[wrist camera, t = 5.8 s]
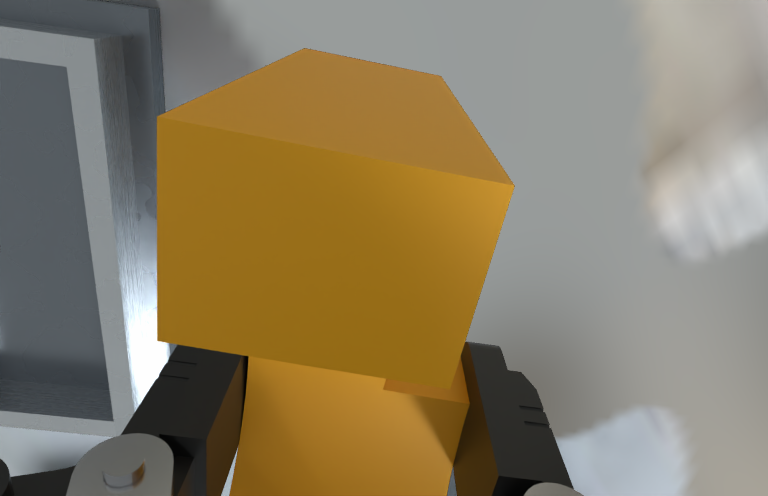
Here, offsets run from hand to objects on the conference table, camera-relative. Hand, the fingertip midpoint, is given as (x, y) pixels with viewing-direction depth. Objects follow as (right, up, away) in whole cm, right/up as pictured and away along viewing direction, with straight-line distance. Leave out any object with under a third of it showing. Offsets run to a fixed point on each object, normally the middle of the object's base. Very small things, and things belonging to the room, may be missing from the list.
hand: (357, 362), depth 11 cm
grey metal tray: (-15, +3, +12) cm, 19 cm away
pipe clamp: (0, +1, +1) cm, 1 cm away
